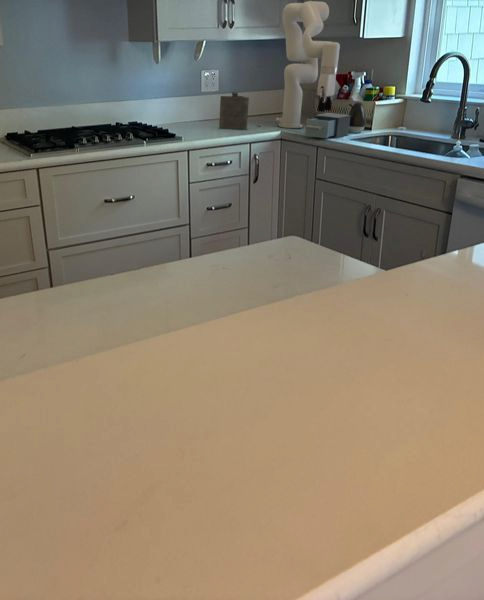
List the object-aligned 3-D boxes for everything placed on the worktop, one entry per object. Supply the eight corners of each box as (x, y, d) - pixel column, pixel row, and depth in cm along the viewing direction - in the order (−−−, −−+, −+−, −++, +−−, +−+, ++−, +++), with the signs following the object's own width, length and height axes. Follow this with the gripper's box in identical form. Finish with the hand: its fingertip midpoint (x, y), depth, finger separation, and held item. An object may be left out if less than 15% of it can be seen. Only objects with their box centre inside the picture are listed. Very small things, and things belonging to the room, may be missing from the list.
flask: (219, 127, 319) (221, 91, 312) (247, 128, 317) (249, 92, 310) (218, 128, 316) (220, 91, 309) (246, 129, 314) (248, 92, 307)
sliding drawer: (322, 139, 286) (324, 122, 283) (300, 136, 292) (302, 119, 289) (338, 135, 300) (340, 118, 297) (317, 132, 306) (318, 116, 303)
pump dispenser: (339, 131, 319) (343, 100, 313) (355, 130, 323) (359, 100, 317) (352, 134, 310) (356, 102, 304) (368, 133, 314) (372, 102, 308)
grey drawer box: (336, 138, 297) (338, 117, 293) (312, 135, 304) (314, 115, 300) (348, 135, 308) (350, 115, 304) (325, 132, 315) (327, 112, 311)
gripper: (329, 69, 294) (324, 108, 301) (313, 71, 281) (309, 111, 288) (343, 70, 290) (339, 110, 297) (328, 72, 277) (323, 113, 284)
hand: (324, 110), depth 293 cm, fingers open, 6 cm apart
